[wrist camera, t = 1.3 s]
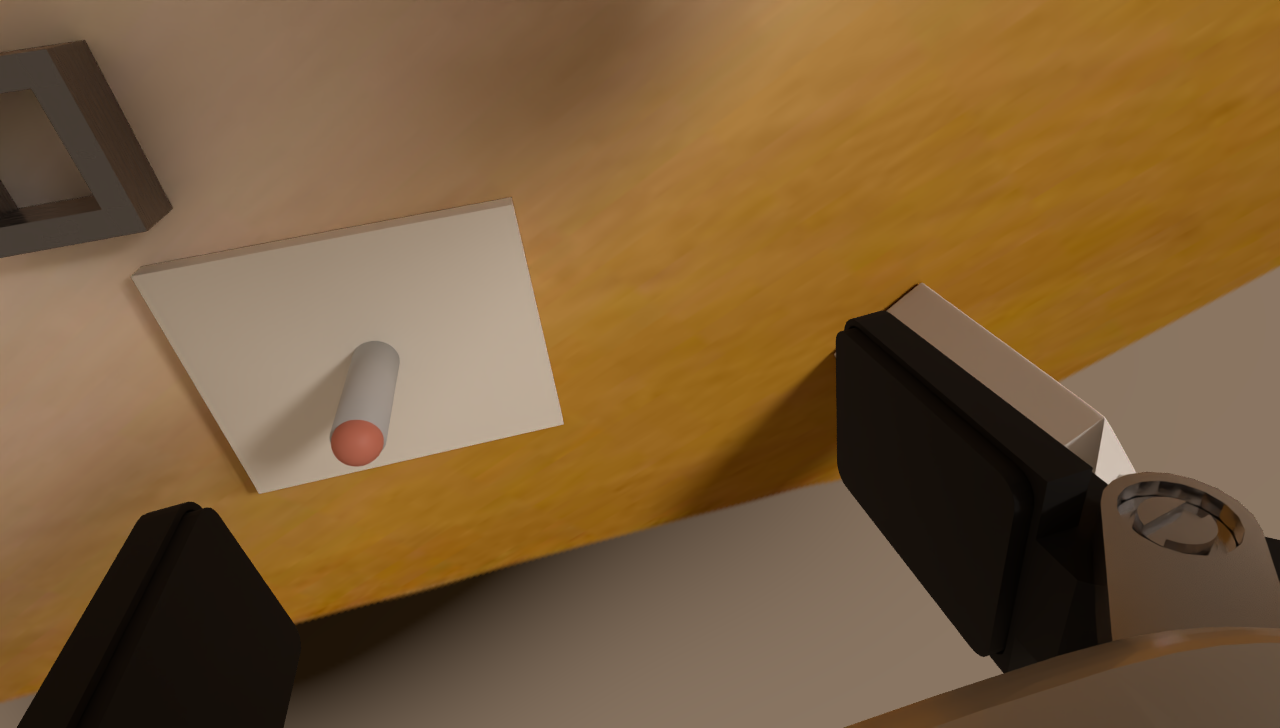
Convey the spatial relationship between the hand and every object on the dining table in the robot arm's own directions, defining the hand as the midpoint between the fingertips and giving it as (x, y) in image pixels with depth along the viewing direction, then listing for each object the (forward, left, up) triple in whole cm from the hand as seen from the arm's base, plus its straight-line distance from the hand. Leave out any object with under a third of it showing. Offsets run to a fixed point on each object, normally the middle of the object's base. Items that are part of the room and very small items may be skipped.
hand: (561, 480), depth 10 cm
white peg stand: (+11, -9, -27) cm, 30 cm away
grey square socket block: (-2, -19, -27) cm, 33 cm away
